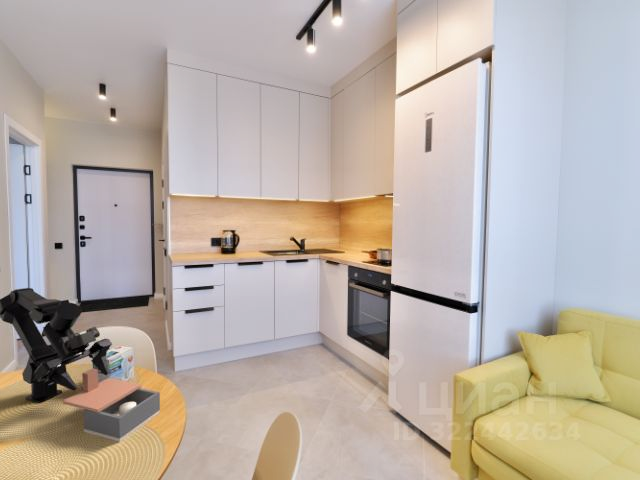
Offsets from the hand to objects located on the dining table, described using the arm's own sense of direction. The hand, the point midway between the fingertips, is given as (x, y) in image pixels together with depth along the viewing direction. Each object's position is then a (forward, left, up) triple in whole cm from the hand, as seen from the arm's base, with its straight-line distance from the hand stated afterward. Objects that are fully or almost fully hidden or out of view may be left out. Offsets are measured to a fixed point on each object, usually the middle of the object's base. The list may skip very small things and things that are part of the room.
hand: (92, 381), depth 91 cm
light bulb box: (-10, +15, -10) cm, 20 cm away
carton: (+11, 0, -9) cm, 15 cm away
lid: (+4, 0, -3) cm, 5 cm away
